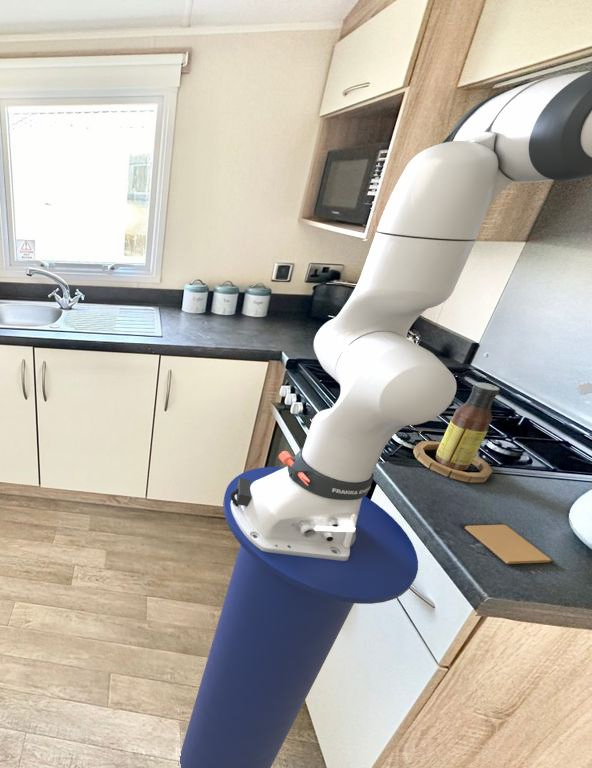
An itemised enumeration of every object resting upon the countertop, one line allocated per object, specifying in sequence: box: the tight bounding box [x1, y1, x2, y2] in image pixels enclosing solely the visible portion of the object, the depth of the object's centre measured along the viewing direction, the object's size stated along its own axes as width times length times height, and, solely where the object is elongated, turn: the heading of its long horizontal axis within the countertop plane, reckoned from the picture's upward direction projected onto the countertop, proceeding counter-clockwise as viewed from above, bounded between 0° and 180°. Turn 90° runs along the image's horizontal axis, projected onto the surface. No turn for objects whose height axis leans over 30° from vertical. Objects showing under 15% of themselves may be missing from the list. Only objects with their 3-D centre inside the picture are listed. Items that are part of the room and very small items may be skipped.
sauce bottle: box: [435, 381, 501, 472], centre depth 90 cm, size 7×6×20 cm
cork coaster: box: [464, 524, 552, 565], centre depth 73 cm, size 8×8×1 cm
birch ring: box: [412, 440, 493, 484], centre depth 94 cm, size 13×13×2 cm
